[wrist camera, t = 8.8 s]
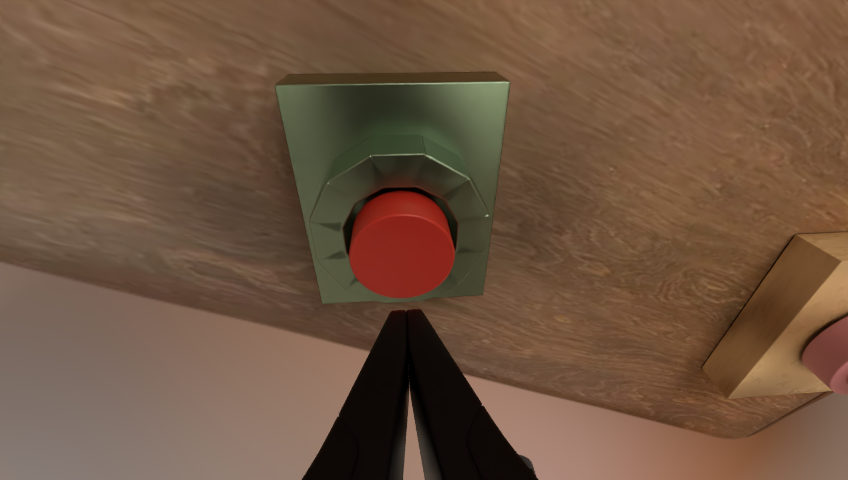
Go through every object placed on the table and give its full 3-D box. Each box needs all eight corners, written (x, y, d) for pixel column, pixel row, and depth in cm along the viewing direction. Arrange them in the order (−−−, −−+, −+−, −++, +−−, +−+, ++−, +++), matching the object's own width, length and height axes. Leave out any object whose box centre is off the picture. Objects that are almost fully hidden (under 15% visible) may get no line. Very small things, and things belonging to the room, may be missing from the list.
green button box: (475, 270, 20) (492, 325, 16) (327, 277, 19) (314, 336, 16) (496, 71, 14) (529, 94, 11) (288, 74, 13) (254, 98, 10)
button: (446, 267, 15) (452, 296, 13) (358, 271, 14) (354, 301, 13) (450, 187, 13) (458, 212, 11) (347, 191, 12) (342, 216, 11)
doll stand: (824, 359, 27) (859, 388, 25) (701, 368, 27) (727, 399, 25) (955, 226, 21) (1018, 252, 18) (795, 234, 20) (842, 261, 18)
